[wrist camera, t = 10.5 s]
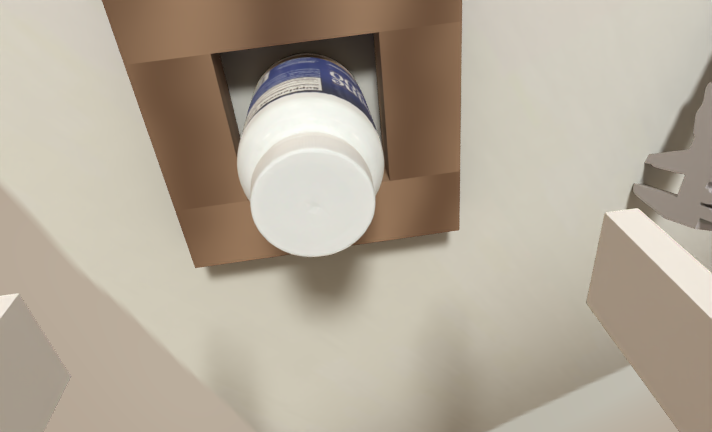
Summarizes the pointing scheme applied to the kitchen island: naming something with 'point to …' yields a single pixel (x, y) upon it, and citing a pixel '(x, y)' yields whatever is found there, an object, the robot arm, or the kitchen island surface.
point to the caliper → (686, 176)
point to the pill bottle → (310, 157)
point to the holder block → (219, 128)
